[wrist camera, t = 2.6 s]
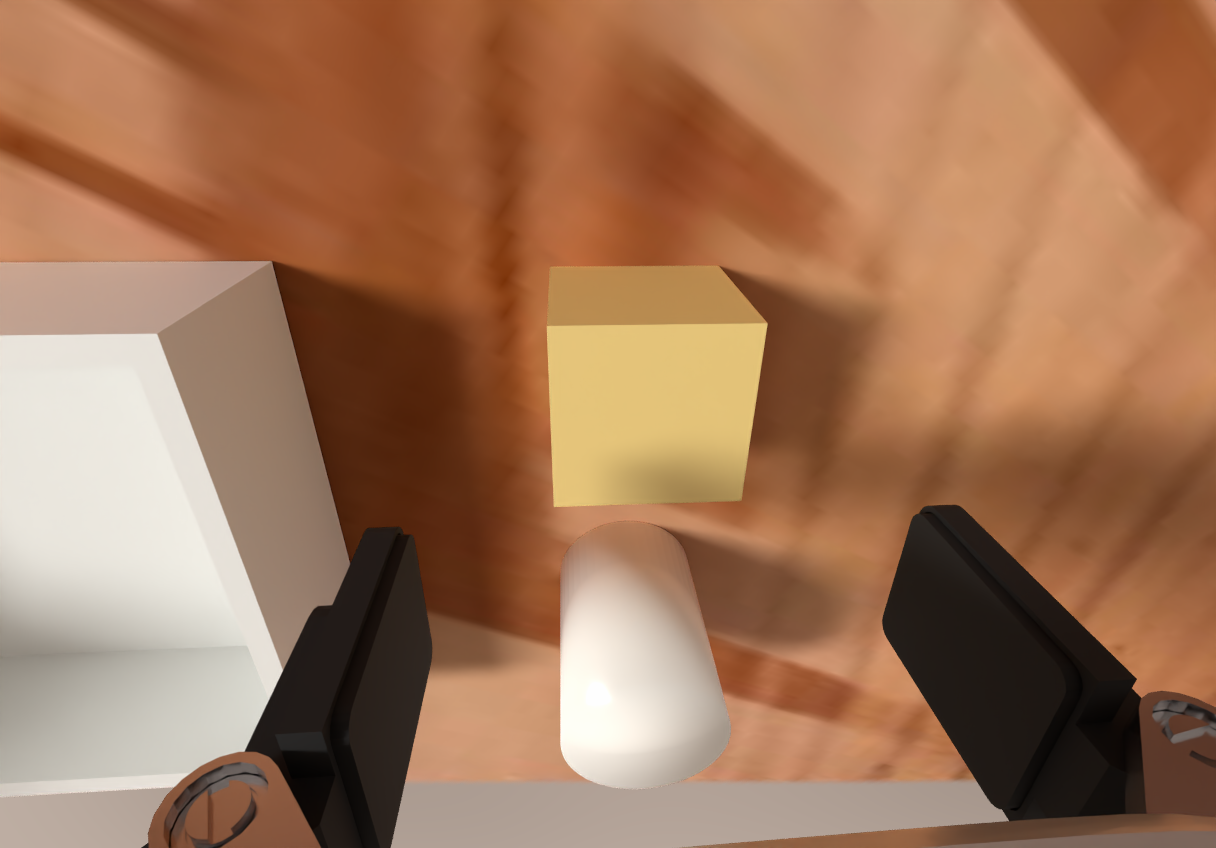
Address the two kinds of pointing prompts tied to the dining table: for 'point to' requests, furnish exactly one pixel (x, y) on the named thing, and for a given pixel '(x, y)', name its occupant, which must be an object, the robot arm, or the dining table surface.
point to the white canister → (636, 661)
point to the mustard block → (650, 384)
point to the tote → (150, 518)
